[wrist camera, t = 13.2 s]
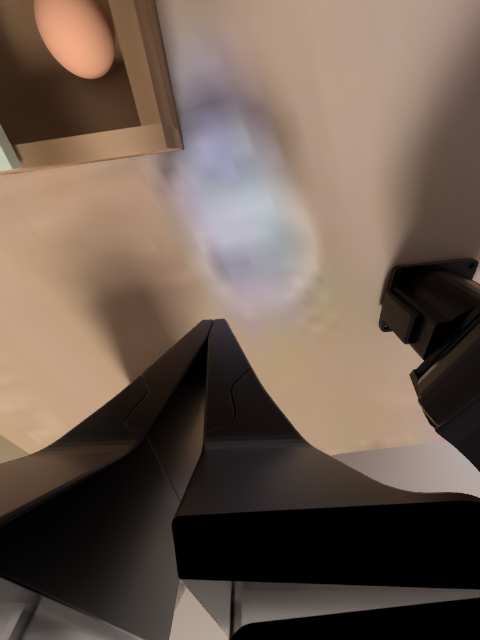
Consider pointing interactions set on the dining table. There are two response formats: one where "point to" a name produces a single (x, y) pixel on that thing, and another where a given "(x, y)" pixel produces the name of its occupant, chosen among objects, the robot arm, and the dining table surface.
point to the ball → (77, 35)
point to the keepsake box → (85, 92)
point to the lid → (7, 154)
